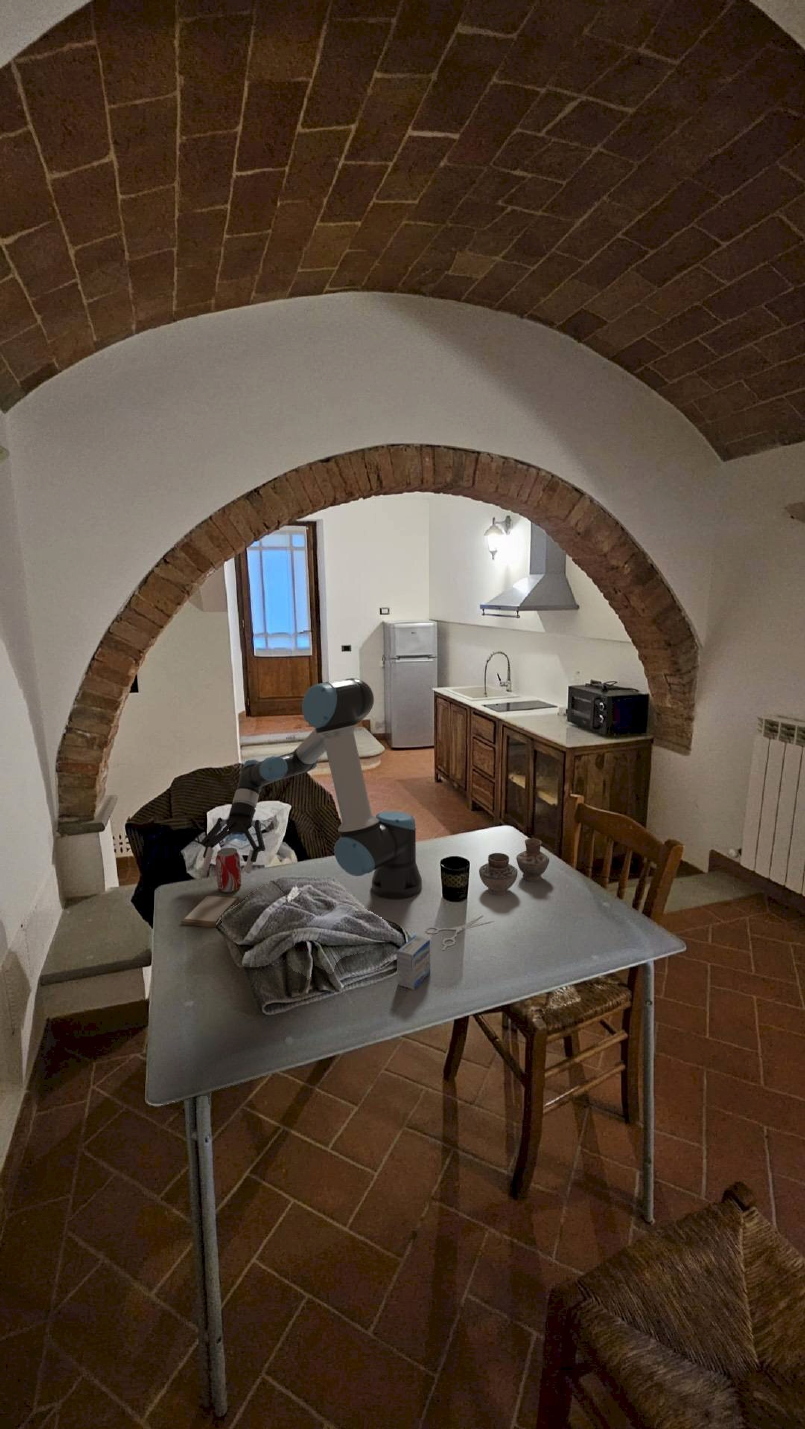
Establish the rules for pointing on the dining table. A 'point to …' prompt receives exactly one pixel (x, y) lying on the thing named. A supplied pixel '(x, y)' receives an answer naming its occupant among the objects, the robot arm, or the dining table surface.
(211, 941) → the dining table surface
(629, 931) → the dining table surface
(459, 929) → the scissors
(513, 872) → the pottery
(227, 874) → the soda can
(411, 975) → the medicine box
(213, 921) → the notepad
